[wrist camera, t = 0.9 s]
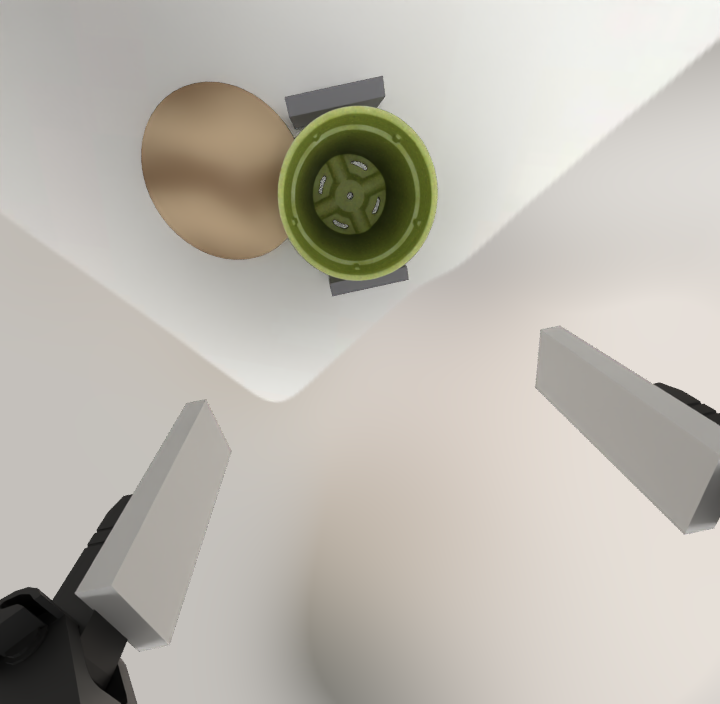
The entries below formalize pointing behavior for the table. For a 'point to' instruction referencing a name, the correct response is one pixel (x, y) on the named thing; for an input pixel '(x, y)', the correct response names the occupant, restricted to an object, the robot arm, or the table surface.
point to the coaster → (217, 169)
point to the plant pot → (357, 193)
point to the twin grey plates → (319, 103)
